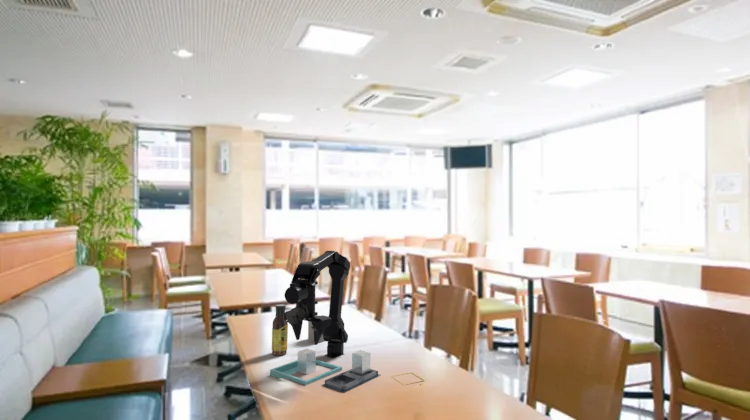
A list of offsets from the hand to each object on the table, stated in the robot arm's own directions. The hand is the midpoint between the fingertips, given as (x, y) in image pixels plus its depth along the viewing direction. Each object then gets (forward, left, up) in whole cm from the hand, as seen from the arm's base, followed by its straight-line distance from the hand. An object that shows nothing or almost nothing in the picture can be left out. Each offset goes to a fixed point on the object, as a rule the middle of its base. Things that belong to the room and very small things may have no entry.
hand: (306, 342), depth 160 cm
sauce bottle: (-10, -26, -12) cm, 30 cm away
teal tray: (0, 0, -12) cm, 12 cm away
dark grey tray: (-4, +18, -12) cm, 22 cm away
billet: (0, 0, -11) cm, 11 cm away
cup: (-34, -28, -12) cm, 46 cm away
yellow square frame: (-17, +32, -13) cm, 38 cm away
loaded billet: (-9, +18, -10) cm, 23 cm away
